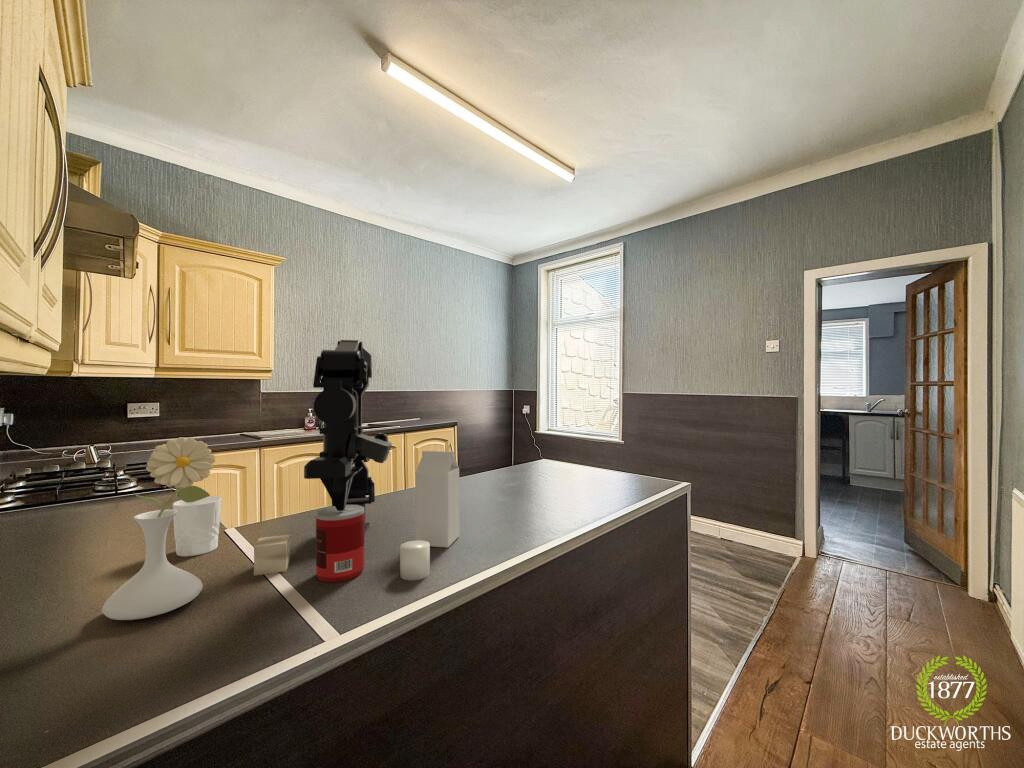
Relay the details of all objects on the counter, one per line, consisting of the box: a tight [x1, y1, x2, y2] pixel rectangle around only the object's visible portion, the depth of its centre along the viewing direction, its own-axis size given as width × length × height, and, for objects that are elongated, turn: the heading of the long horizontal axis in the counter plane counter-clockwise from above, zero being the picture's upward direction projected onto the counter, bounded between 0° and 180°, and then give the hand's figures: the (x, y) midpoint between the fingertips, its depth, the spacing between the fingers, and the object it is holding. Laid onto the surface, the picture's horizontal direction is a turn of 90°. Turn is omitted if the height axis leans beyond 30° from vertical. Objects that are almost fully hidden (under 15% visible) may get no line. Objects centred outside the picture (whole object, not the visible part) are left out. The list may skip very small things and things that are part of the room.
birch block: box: [253, 534, 291, 577], centre depth 77 cm, size 5×5×5 cm
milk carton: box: [415, 450, 460, 548], centre depth 91 cm, size 7×7×19 cm
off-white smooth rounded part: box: [399, 539, 431, 581], centre depth 74 cm, size 5×5×5 cm
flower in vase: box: [101, 436, 216, 621], centre depth 64 cm, size 13×11×25 cm
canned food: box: [315, 505, 366, 583], centre depth 75 cm, size 8×8×11 cm
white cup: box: [172, 495, 222, 557], centre depth 86 cm, size 8×8×10 cm
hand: (340, 510), depth 75 cm, fingers closed, pressing on canned food
